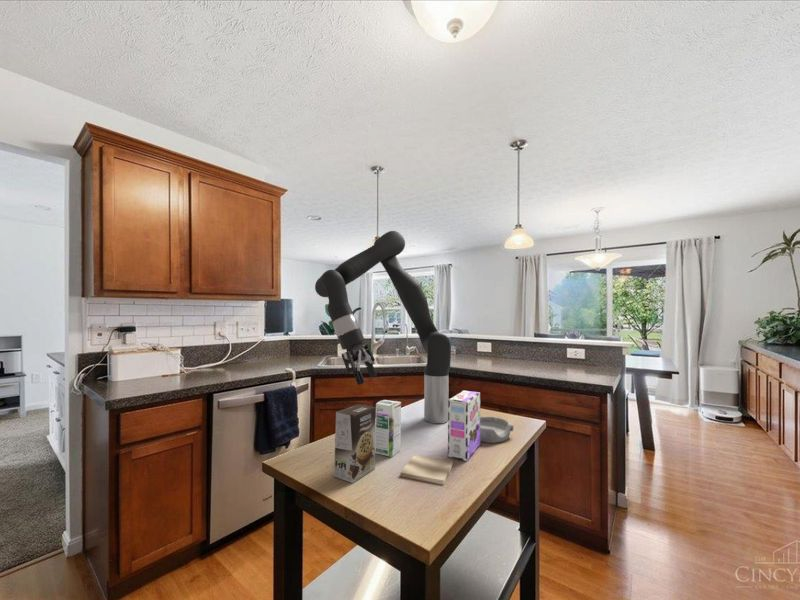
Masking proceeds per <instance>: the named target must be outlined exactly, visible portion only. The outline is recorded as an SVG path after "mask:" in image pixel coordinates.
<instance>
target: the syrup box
mask: <svg viewBox="0 0 800 600" xmlns="http://www.w3.org/2000/svg"><path fill="white" fill-rule="evenodd" d="M375 407H376V419H375V455H382V456H386V457H389V458H393V457H394V456H395V455H397V454H398V453H399V452H400V451H401V445H402V443H401V431H402V427H401V426H402V425H401V424H402V423H401V422H402V421H401V420H402V401H397V400H395V401H394V400H388V399H383V400H379V401H378V402H376V403H375Z"/></svg>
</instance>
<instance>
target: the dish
mask: <svg viewBox="0 0 800 600" xmlns="http://www.w3.org/2000/svg"><path fill="white" fill-rule="evenodd" d="M513 431H514V423H510V422H509V421H508V420H506V419H504V418H502V417H496V416H480V443H481V442H482V443H489V444H495V443H501V442H505V441H507V440H508V439H509V438H510V435H511V432H513Z"/></svg>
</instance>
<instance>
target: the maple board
mask: <svg viewBox="0 0 800 600" xmlns="http://www.w3.org/2000/svg"><path fill="white" fill-rule="evenodd" d="M453 466H454V461H453V460H447V459H440V458H435V457H430V456H423V455H417V454H414V455H413V456H412V457H411V458H410V460H409V461H408V462H407V463H406V465H405V466H404V467H403V469H402V470H401V471H400V477H401V478H407V479H411V480H416V481H422V482H428V483H433V484H437V485H438V484H439V485H442V486H443V485H445V483H446V481H447V479H448V477H449V474H450V472H451V470H452V468H453Z"/></svg>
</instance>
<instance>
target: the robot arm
mask: <svg viewBox="0 0 800 600" xmlns="http://www.w3.org/2000/svg"><path fill="white" fill-rule="evenodd" d="M405 247H406V241H405V238H404V236H403V235H402V233H400V232H398V231H396V230H390V231H387V232H385V233H384V234H382V235H381V236H378V238H377V239H375V240H374V243H373V245H371V246H370V247H369V248H367V249H365V250H363V251H361V252H359V253H357V254H355V255H353V256H352V257H350V258H348V259H346V260H344V261H343V262H341V264H339V265H338V266H337V267H336V268H334V269H327V270H326V271H325V272H324V273H323V274H321V276H319V277H318V279H317V280H316V282H315V286H314V290H315V293H316V294H317V295H318V296H319V297H322V298H327V299H328V304H327V312H328V315H329V318H330V320H331V322H332V327H333V329H334V332H335V334H336V338H337V339H338V342H339V345H340V347H341V350H345V351H346V352H343V353H342V354H341V358H342V361H343V363H344V366H345V369H346V372H347V373H348V374H350V373H351V374H353V376H354V379H355V381H356V384H357V385H358V386H360V385H363V384H364V383H366V381H365V379H364V376H363V373H362V371H361V368H360V367H361V366H360V365H361V364H363V365H364V366H365V368H366V370H367V373H368V376H369V377H370V378H374V377H376V376H377V372H376V370H375V367H374V365H373V364H374V362H375V361H376V359H375V357H374V354H373V352H372V350H371V348H370V346H369V344H364V345H363V343H364V342H365V337H364V335H363V332H362V329H361V327H360V324H359V322H358V320H357V318H356V317H355V314H354V312H353V310H352V308H351V304H350V303H349V298H348V292H347V285H348V284H350V283H352V282H354V281H356V280H357V279H359V278H360V277H362V276H363V275H364V274H366V273H367V272H368V271H370V269H373V268H374V267H375V266H377V265H378V264H379V263H380V264H381V265H382V267H383V268H384V270H385V272H386V273H387V275H388V277H389V279H390V280H391V283H392V285H393V286H394V288H395V290H396V292H397V295H398V297H399V299H400V302H401V303H402V306H403V307H404V309H405V311H406V313H407V315H408V316H409V318H410V320H411V322H412V323H413V326H414V327H415V329H416V332H417V335H418V338H419V341H420V343H421V346H422V348H423V351H425V352H424V353H426V355H427V358H426V365H425V366H424V369H423V370H424V375H423V377H424V388H423V389H424V391H423V392H424V394H423V396H424V397H423V398H424V399H423V400H424V404H423V406H424V409H423V412H424V414H423V418H424V419H423V420H424V421H425V422H428V423H431V424H444V423H448V400H449V399H450V398H449V392H450V391H449V381H450V380H449V372H450V368H451V360H452V359H451V358H452V356H451V355H452V345H451V344H452V343H451V340H450V338H449V337H448V336H447V335H446V334H444V333H440V332H439V331H438V329H437V328H436V325H435V324H434V321H433V320H432V318H431V314H430V308H429V307H430V306H429V304H428V300H427V297H426V294H425V293H424V291H423V288H422V286H421V284H420V283H419V281H417V279H416V278H414V277H413V276H412V275H411V274H409V273H408V272H407V271H406V270H405V269H404V268H403V267H402V265H401V264H400V262H399V260H398V258H397V256H398V255H400V254H401V253H402V252H403V251H404V249H405Z"/></svg>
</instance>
